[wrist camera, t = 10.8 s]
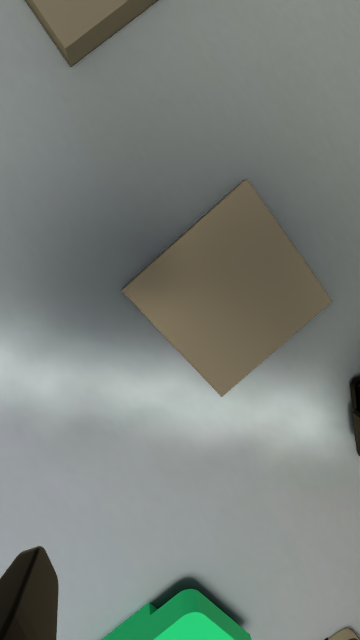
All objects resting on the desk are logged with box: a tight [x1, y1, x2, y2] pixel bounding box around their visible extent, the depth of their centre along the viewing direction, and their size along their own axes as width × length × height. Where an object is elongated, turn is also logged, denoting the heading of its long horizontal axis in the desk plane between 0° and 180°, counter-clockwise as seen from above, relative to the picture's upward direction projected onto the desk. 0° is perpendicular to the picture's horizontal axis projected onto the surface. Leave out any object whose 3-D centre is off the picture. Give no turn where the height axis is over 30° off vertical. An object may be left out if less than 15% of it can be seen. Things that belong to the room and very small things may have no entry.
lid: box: [122, 179, 332, 397], centre depth 20 cm, size 9×9×1 cm
